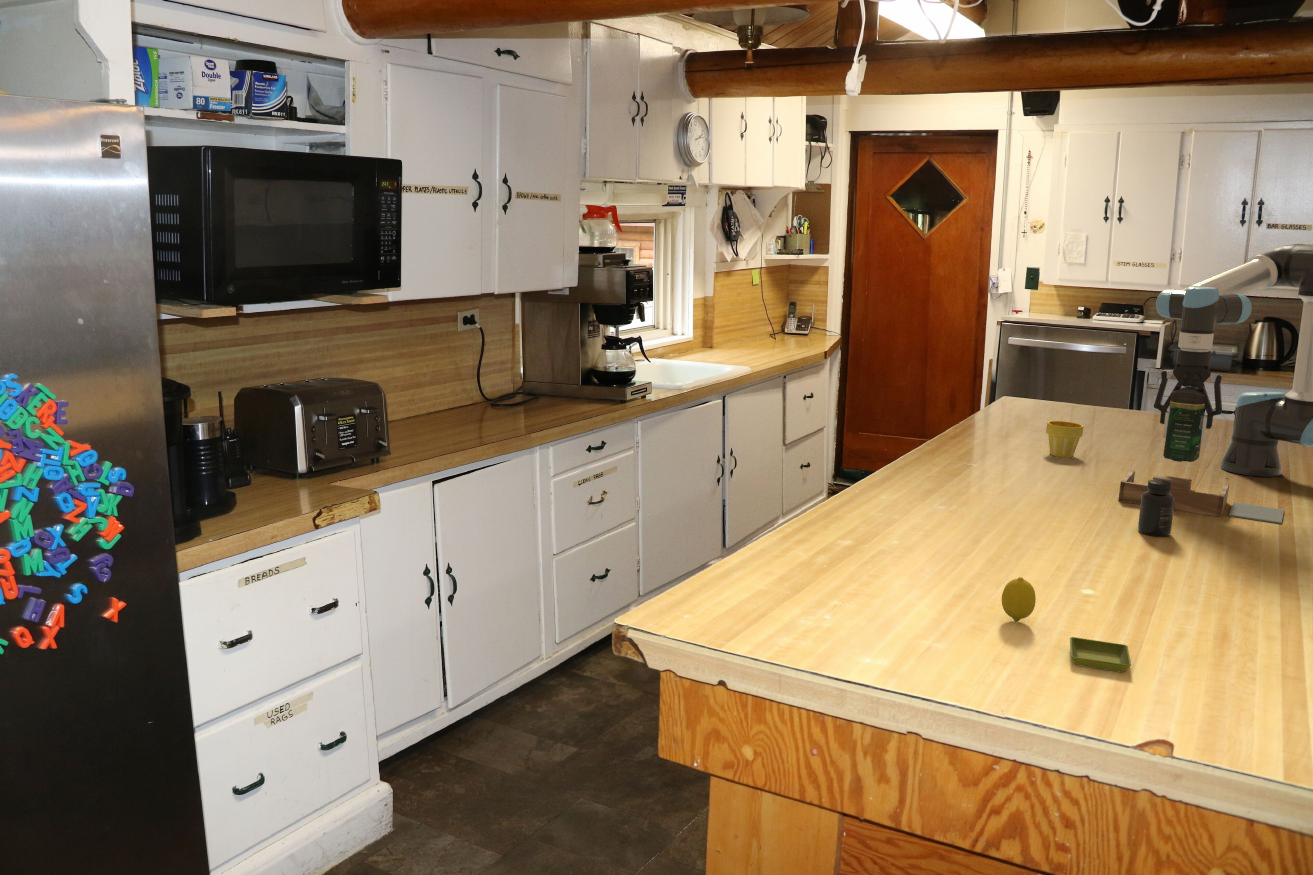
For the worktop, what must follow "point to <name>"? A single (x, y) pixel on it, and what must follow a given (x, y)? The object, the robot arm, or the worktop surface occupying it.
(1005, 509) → the worktop surface
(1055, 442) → the plant pot
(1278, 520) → the mat
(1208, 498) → the wooden open enclosure
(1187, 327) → the robot arm
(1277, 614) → the worktop surface
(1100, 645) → the green tray
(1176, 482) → the offcut top
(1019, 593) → the lemon
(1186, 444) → the coffee jar
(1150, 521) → the supplement bottle
